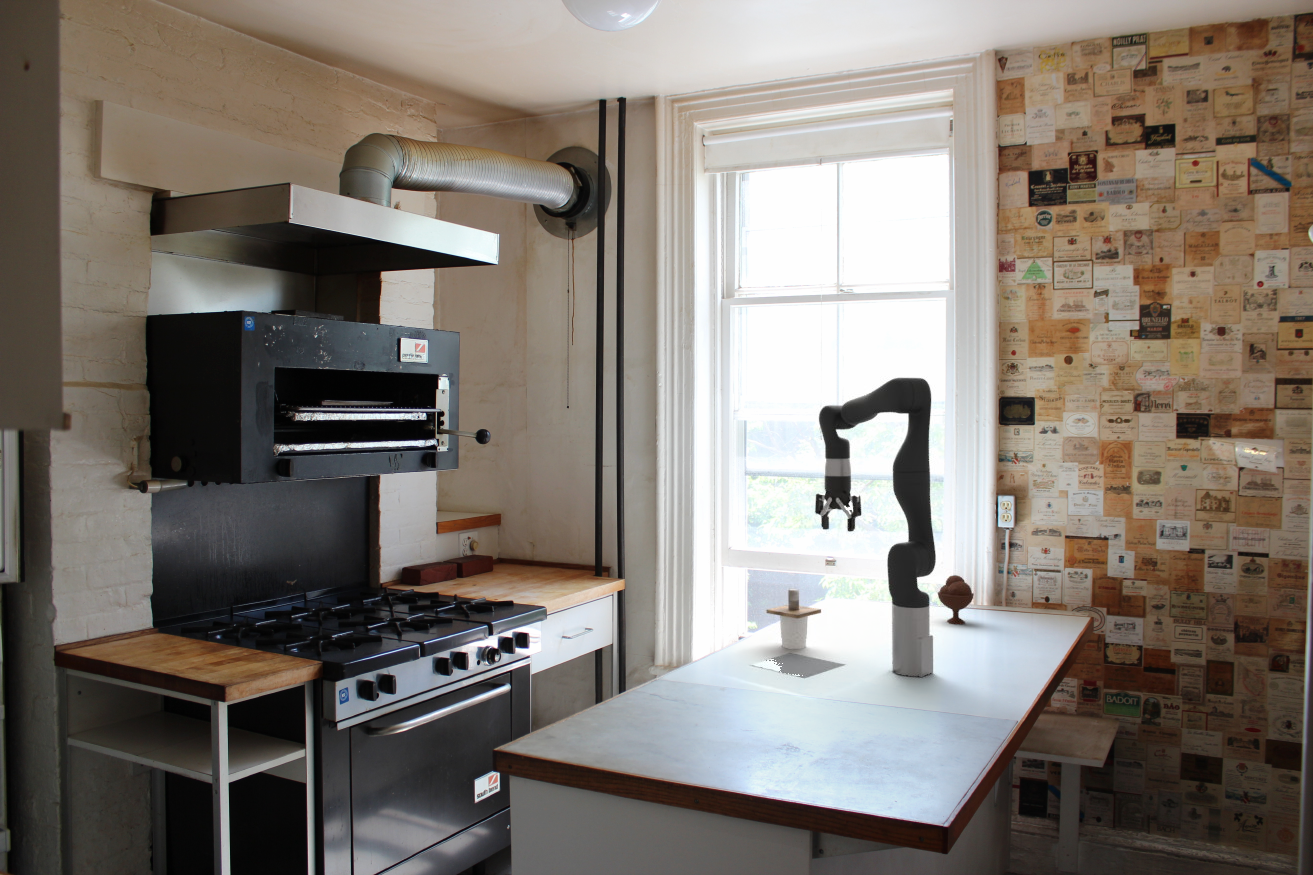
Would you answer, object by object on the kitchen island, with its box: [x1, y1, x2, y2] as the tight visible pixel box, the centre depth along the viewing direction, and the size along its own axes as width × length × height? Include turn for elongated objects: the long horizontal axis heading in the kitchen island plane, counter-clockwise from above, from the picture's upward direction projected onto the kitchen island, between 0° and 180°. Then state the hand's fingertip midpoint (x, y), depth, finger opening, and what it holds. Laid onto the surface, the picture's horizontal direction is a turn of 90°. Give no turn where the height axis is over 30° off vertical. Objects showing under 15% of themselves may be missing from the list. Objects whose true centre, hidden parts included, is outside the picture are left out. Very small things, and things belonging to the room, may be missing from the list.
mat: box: [765, 652, 846, 679], centre depth 232 cm, size 18×18×1 cm
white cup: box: [779, 615, 809, 650], centre depth 252 cm, size 8×8×10 cm
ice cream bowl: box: [937, 574, 975, 625], centre depth 284 cm, size 11×11×15 cm
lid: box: [765, 588, 822, 619], centre depth 252 cm, size 11×11×6 cm
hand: (838, 530), depth 255 cm, fingers open, 8 cm apart
